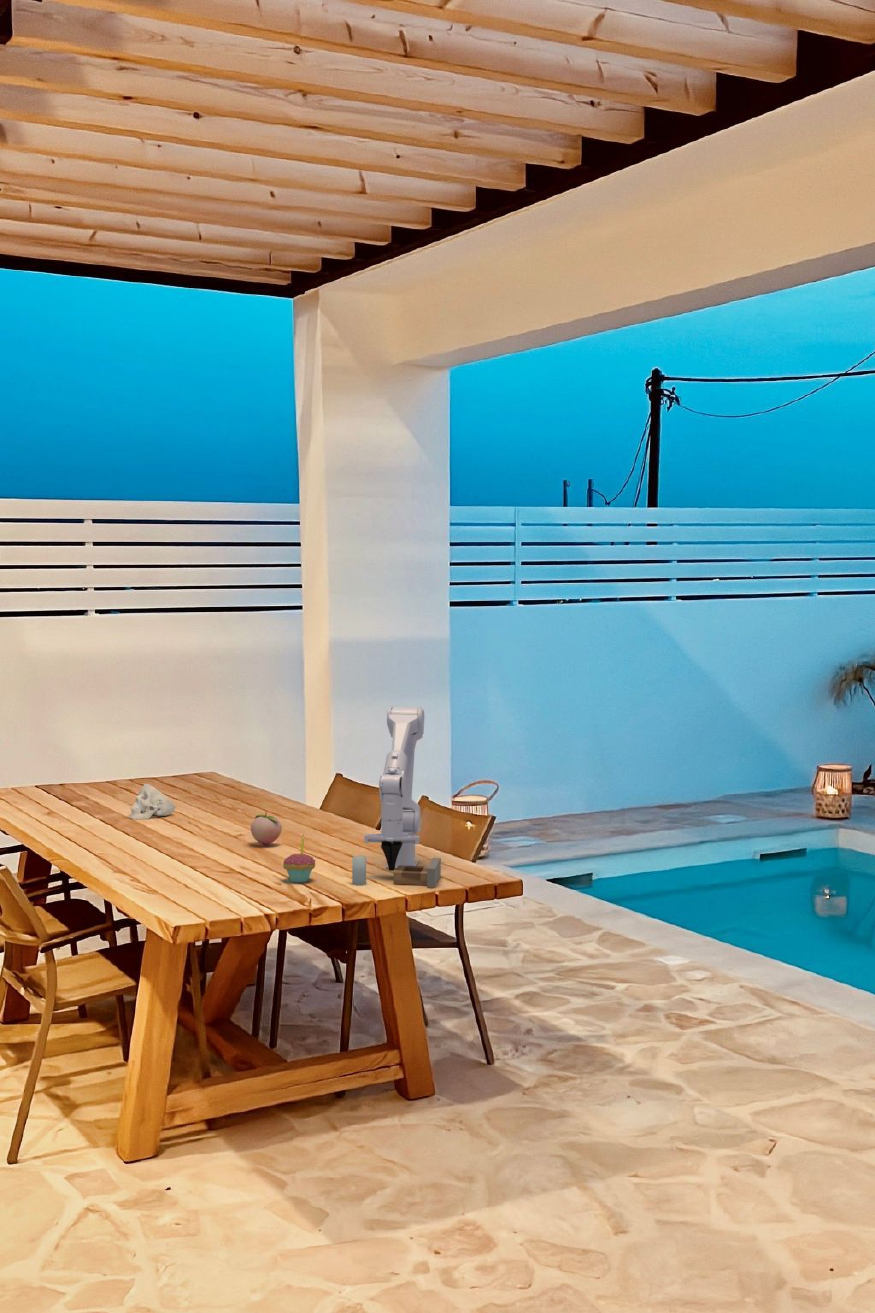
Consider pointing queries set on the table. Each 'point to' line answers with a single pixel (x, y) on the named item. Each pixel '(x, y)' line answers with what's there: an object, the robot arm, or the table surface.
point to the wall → (433, 872)
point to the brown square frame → (410, 875)
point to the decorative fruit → (265, 829)
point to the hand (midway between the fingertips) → (391, 870)
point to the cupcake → (299, 866)
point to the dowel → (359, 870)
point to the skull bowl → (151, 804)
